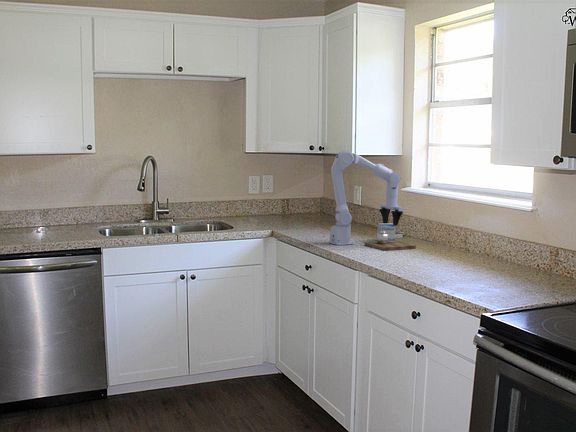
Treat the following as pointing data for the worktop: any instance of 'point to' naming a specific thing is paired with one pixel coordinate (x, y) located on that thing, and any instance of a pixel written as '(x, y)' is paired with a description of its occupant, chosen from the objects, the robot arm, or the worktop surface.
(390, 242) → the stand
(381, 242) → the ball-knob lever
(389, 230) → the medicine box
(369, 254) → the worktop surface
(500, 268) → the worktop surface
